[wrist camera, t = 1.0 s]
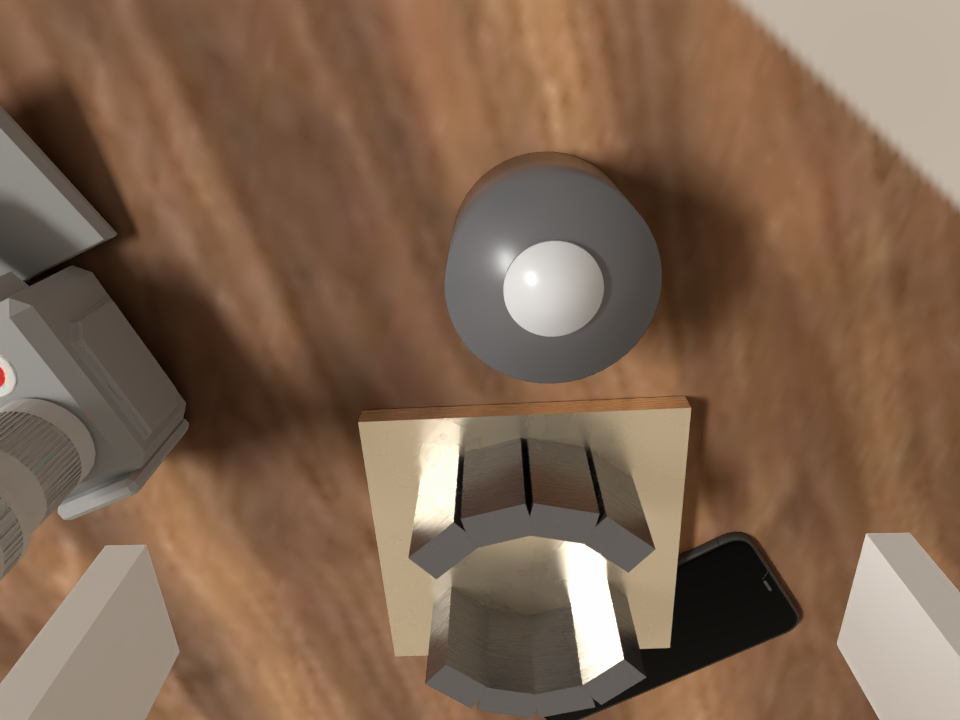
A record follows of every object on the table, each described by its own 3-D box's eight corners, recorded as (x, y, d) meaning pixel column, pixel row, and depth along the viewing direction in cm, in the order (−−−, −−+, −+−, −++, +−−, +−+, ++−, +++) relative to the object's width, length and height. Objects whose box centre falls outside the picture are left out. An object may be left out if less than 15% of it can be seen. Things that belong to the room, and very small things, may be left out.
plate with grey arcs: (362, 410, 30) (336, 486, 25) (684, 396, 29) (725, 470, 24) (397, 640, 36) (382, 738, 31) (665, 632, 35) (693, 730, 30)
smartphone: (554, 719, 39) (801, 614, 35) (555, 733, 38) (808, 627, 34) (481, 643, 36) (740, 520, 32) (481, 656, 36) (745, 531, 32)
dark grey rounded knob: (445, 156, 25) (434, 186, 20) (636, 146, 25) (671, 172, 20) (458, 331, 28) (452, 392, 23) (629, 322, 28) (658, 382, 23)
